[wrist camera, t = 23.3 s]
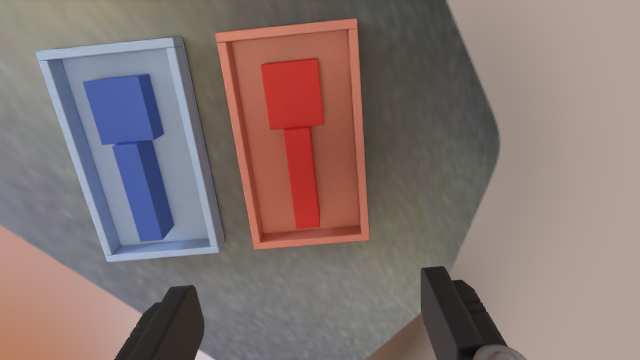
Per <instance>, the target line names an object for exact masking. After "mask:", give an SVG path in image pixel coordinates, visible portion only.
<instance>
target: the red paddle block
mask: <svg viewBox="0 0 640 360" xmlns="http://www.w3.org/2000/svg"><path fill="white" fill-rule="evenodd" d="M261 72H262V79H263V86H264V93H265V99H266V106H267V113H268V120H269V127H270V130H276V129H284V139H285V147H286V154H287V162H288V169H289V177H290V184H291V192H292V199H293V207H294V215H295V222H296V229H305V228H317V227H320V208H319V199H318V189H317V180H316V170H315V161H314V152H313V142H312V133H311V126H318V125H324V117H323V107H322V96H321V85H320V74H319V64H318V58H311V59H301V60H291V61H281V62H272V63H264V64H262V65H261Z"/></svg>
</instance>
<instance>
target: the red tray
mask: <svg viewBox="0 0 640 360" xmlns="http://www.w3.org/2000/svg"><path fill="white" fill-rule="evenodd" d="M215 35H216V40H217V42H218V43H217V45H218V51H219V56H220V62H221V67H222V73H223V79H224V84H225V90H226V95H227V101H228V106H229V112H230V117H231V123H232V129H233V134H234V140H235V145H236V151H237V156H238V162H239V167H240V173H241V179H242V184H243V190H244V195H245V201H246V206H247V212H248V217H249V223H250V229H251V234H252V240H253V245H254V249H255V250H257V249H268V248H280V247H292V246H304V245H316V244H328V243H339V242H351V241H363V240H369V222H368V205H367V187H366V169H365V151H364V133H363V116H362V98H361V80H360V62H359V44H358V29H357V18H353V19H344V20H334V21H324V22H315V23H305V24H295V25H286V26H276V27H266V28H257V29H247V30H237V31H228V32H218V33H215ZM311 58H318V64H319V74H320V85H321V96H322V107H323V117H324V125H318V126H311V133H312V142H313V152H314V161H315V170H316V180H317V189H318V199H319V208H320V227H317V228H305V229H296V222H295V215H294V207H293V199H292V192H291V184H290V177H289V169H288V162H287V154H286V147H285V139H284V129H276V130H270V127H269V120H268V113H267V106H266V99H265V93H264V86H263V79H262V72H261V65H262V64H264V63H272V62H281V61H291V60H301V59H311Z"/></svg>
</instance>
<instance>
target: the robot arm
mask: <svg viewBox="0 0 640 360" xmlns="http://www.w3.org/2000/svg"><path fill="white" fill-rule="evenodd" d="M421 312H422V317H423V321H424V324H425V327H426V330H427V332H428V335H429V338H430V341H431V344H432V347H433V350H434V353H435V355H436V358H437V360H527V359H526V358H525V357H524V356H523V355H522V354H520V353H519V352H518V351H515V350H514V349H512V348H510V347H508V346H507V344H506V343H505V341H504V339H503V338H502V336H501V334H500V332H499V331H498V330H497V328H496V326H495V324H494V322H493V321H492V319H491V317H490V316H489V314H488V312H486V309H485V307H484V306H483V304H482V303H481V302H480V299H479V297H478V296H477V294H476V292H475V290H474V289H473V288H472V287H470V286H469V285H468V284H466V283H465V282H464V281H463V280H453V281H452V280H451V278H450V276H449V274H448V272H447V271H446V269H445V267H444V266H439V267H427V268H422V269H421ZM203 335H204V318H203V315H202V311H201V307H200V303H199V299H198V295H197V292H196V289H195V287H194V286H193V285H189V286H176V287H171V288H170V289H169V290H168V292H167V294H166V295H165V297H164V299H163V300H162V302H158V303H155V304H154V305H153V306H151V307H150V308H149V309H148V310H147V311H146V312H145V313H143V315H142V317H141V318H140V320H139V321H138V323H137V325H136V327H135V328H134V329H133V331H132V333H131V334H130V337H129V338H128V339H127V340H126V342H125V344H124V345H123V347H122V348H121V350H120V351H119V353H118V354H117V356H116V358H115V359H114V360H194V359H195V357H196V354H197V351H198V349H199V346H200V344H201V341H202V338H203Z"/></svg>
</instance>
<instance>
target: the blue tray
mask: <svg viewBox="0 0 640 360" xmlns="http://www.w3.org/2000/svg"><path fill="white" fill-rule="evenodd" d="M35 53H36V56H37V58H38V61H39V64H40V67H41V70H42V73H43V76H44V79H45V82H46V84H47V87H48V90H49V93H50V96H51V99H52V102H53V105H54V108H55V111H56V114H57V117H58V120H59V122H60V125H61V128H62V131H63V134H64V137H65V140H66V143H67V146H68V149H69V152H70V155H71V158H72V161H73V163H74V166H75V169H76V172H77V175H78V178H79V181H80V184H81V187H82V190H83V193H84V196H85V199H86V201H87V204H88V207H89V210H90V213H91V216H92V219H93V222H94V225H95V228H96V231H97V234H98V237H99V240H100V242H101V245H102V248H103V251H104V254H105V257H106V260H107V262H115V261H127V260H138V259H150V258H162V257H174V256H186V255H198V254H209V253H219V252H220V250H221V248H222V246H223V243H224V242H225V238H224V233H223V228H222V223H221V219H220V214H219V209H218V204H217V200H216V195H215V190H214V185H213V180H212V176H211V171H210V166H209V161H208V157H207V152H206V147H205V142H204V137H203V133H202V128H201V123H200V118H199V113H198V109H197V104H196V99H195V94H194V90H193V85H192V80H191V75H190V70H189V66H188V61H187V56H186V51H185V47H184V42H183V38H182V37H170V38H160V39H150V40H141V41H131V42H122V43H112V44H102V45H93V46H83V47H73V48H64V49H54V50H44V51H36V52H35ZM142 74H149V75H150V79H151V83H152V88H153V92H154V96H155V100H156V104H157V108H158V112H159V116H160V120H161V124H162V128H163V132H164V134H163V135H162V136H160V137H158V138H157V139H155V140H152V142H153V146H154V150H155V154H156V157H157V161H158V165H159V169H160V173H161V177H162V180H163V184H164V188H165V192H166V196H167V200H168V203H169V207H170V211H171V215H172V219H173V223H174V226H173V228H172V229H171V230H170V232H169V233H168V234H167V235H166V237H165V238H164V239H163V240H156V241H144V242H141V241H140V238H139V235H138V232H137V229H136V225H135V222H134V219H133V215H132V212H131V209H130V205H129V202H128V199H127V195H126V192H125V189H124V185H123V182H122V179H121V175H120V172H119V169H118V165H117V162H116V159H115V155H114V152H113V149H112V146H114V145H116V144H109V145H102V143H101V140H100V137H99V133H98V130H97V127H96V124H95V120H94V117H93V114H92V111H91V108H90V104H89V101H88V98H87V95H86V91H85V88H84V85H83V82H84V81H89V80H95V79H102V78H112V77H122V76H132V75H142Z"/></svg>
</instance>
